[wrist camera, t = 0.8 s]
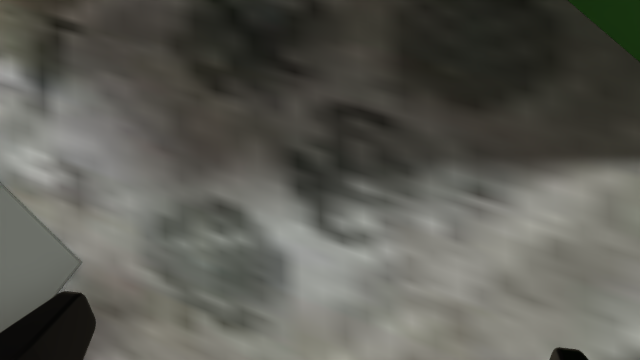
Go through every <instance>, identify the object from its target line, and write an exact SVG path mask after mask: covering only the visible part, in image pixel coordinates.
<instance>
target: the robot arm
mask: <svg viewBox="0 0 640 360" xmlns="http://www.w3.org/2000/svg"><path fill="white" fill-rule="evenodd" d="M95 325H96V321H95V317H94V314H93V312H92V310H91V308H90V305H89V303H88V301H87V299H86V297H85V295H84V294H82V293H78V292H69V291H64V292H61V293H59V294H57V295H56V296H54V297H53V298H51V299H50V300H48V301H47V302H45V303H44V304H42V305H41V306H39V307H38V308H36V309H35V310H33V311H32V312H30V313H29V314H27V315H26V316H24V317H23V318H21V319H20V320H18V321H17V322H15V323H14V324H12V325H11V326H9V327H8V328H6V329H5V330H3V331H2V332H0V360H83V359H84V356H85V353H86V351H87V348H88V346H89V343H90V341H91V338H92V336H93V333H94V330H95ZM550 360H588V359H587V357H586V356H585V355H584V354H583V353H582V352H581V351H579V350H576V349H568V348H560V347H559V348H555V349H554V350H553V352H552V355H551V357H550Z"/></svg>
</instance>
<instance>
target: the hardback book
mask: <svg viewBox="0 0 640 360" xmlns="http://www.w3.org/2000/svg"><path fill="white" fill-rule="evenodd" d="M568 1H569V2H570V3H571V4H573V5H574V6H575V7H576V8H577V9H578V10H580V11H581V12H582V13H583V14H584V15H585V16H587V17H588V18H589V19H590V20H591V21H592V22H594V23H595V24H596V25H597V26H598V27H599V28H601V29H602V30H603V31H604V32H605V33H606V34H608V35H609V36H610V37H611V38H612V39H613V40H615V41H616V42H617V43H618V44H619V45H620V46H622V47H623V48H624V49H625V50H626V51H627V52H629V53H630V54H631V55H632V56H633V57H634V58H636V59H637V60H638V61H639V62H640V0H568Z"/></svg>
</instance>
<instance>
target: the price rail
mask: <svg viewBox="0 0 640 360" xmlns="http://www.w3.org/2000/svg"><path fill="white" fill-rule="evenodd" d="M81 263H82V262H81V261H80V260H79V259H78V258H77V257H76V256H75V255H74V254H73V253H72V252H71V251H70V250H69V249H68V248H67V247H66V246H65V245H64V244H63V243H62V242H61V241H60V240H59V239H58V238H57V237H56V236H55V235H54V234H53V233H52V232H51V231H50V230H48V229H47V228H46V227H45V226H44V225H43V224H42V223H41V222H40V221H39V220H38V219H37V218H36V217H35V216H34V215H33V214H32V213H31V212H30V211H29V210H28V209H27V208H26V207H25V206H24V205H23V204H22V203H21V202H20V201H19V200H18V199H17V198H16V197H15V196H14V195H13V194H12V193H11V192H10V191H8V190H7V189H6V188H5V187H4V186H3V185H2V184H1V183H0V332H2V331H3V330H5V329H6V328H8V327H9V326H11V325H12V324H14V323H15V322H17V321H18V320H20V319H21V318H23V317H24V316H26V315H27V314H29V313H30V312H32V311H33V310H35V309H36V308H38V307H39V306H41V305H42V304H44V303H45V302H47V301H48V300H50V299H51V298H53V297H54V296H55V295H56V294H57V293H58V291H59V290H60V289H61V288H62V287H63V285H64V284H65V283H66V282H67V280H68V279H69V278H70V277H71V276H72V274H73V273H74V272H75V271H76V269H77V268H78V267H79V266H80V265H81Z"/></svg>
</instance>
